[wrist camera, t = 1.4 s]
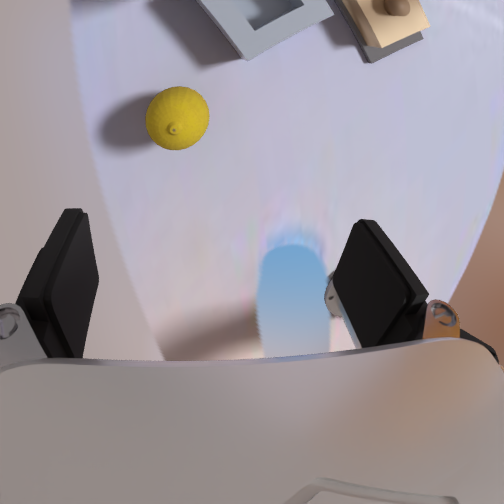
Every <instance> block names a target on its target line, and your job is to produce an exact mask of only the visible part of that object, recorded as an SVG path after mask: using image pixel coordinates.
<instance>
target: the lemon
mask: <svg viewBox="0 0 504 504" xmlns="http://www.w3.org/2000/svg"><path fill="white" fill-rule="evenodd" d="M145 120H146V128H147V131H148V134H149V135H150V137H151V139H152V140H153V141H154V142H155V143H156V144H157V145H159V146H161V147H163V148H165V149H169V150H181V149H186V148H188V147H190V146H192V145H194V144H195V143H196V142H197V141H199V140H200V138H201V137H202V136H203V135H204V133H205V131H206V129H207V127H208V122H209V109H208V106H207V104H206V101H205V100H204V99H203V97H202V96H201V95H200V94H199V93H197V92H196V91H195V90H192V89H190V88H188V87H181V86H179V87H171V88H168V89H165V90H163V91H162V92H160V93H159V94H157V95H156V97H155V98H154V99H153V100H152V101H151V103H150V105H149V106H148V108H147V112H146V117H145Z"/></svg>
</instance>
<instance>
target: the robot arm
mask: <svg viewBox="0 0 504 504" xmlns="http://www.w3.org/2000/svg"><path fill="white" fill-rule="evenodd" d="M98 283H99V275H98V270H97V265H96V260H95V255H94V249H93V243H92V238H91V232H90V225H89V219H88V214H87V213H83V211H82V209H81V208H79V209H78V208H77V209H76V208H73V209H65V210H64V211H63V213H62V215H61V217H60V218H59V220H58V222H57V224H56V226H55V227H54V229H53V231H52V233H51V235H50V237H49V239H48V240H47V242H46V244H45V246H44V247H43V248H42V249H41V250H40V251H39V253H38V255H37V257H36V259H35V261H34V263H33V265H32V268H31V270H30V272H29V274H28V276H27V278H26V280H25V282H24V285H23V287H22V289H21V291H20V294H19V296H18V299H17V301H16V303H15V304H12V303H6V304H2V305H0V504H504V367H503V366H502V365H500V366H499V361H498V357H497V355H496V352H495V350H494V349H493V348H492V347H491V346H489V345H487V344H486V343H484V342H482V341H481V340H479V339H477V338H476V337H474V336H472V335H470V334H469V333H467V332H465V331H464V330H462V329H460V320H459V317H458V314H457V313H456V311H455V310H454V309H453V308H452V307H451V306H450V305H449V304H447V303H446V302H444V301H441V300H436V299H435V300H431V301H430V302H429V303H428V304H427V303H426V301H425V300H426V298H427V297H428V295H429V293H428V292H427V290H426V289H425V287H424V286H423V284H422V283H421V281H420V280H419V279H418V277H417V276H416V274H415V273H414V272H413V270H412V269H411V267H410V266H409V265H408V263H407V262H406V260H405V259H404V258H403V256H402V255H401V254H400V252H399V251H398V250H397V248H396V247H395V246H394V244H393V243H392V242H391V240H390V239H389V238H388V237H387V235H386V234H385V233H384V231H383V230H382V229H381V228H380V226H379V225H378V224H377V222H376V221H374V220H366V219H360V220H359V221H358V222H357V223H355V224H354V225H353V227H352V230H351V233H350V235H349V238H348V240H347V243H346V245H345V248H344V251H343V253H342V256H341V258H340V261H339V263H338V266H337V268H336V270H335V273H334V275H333V279H332V280H331V281H330V283H329V284H328V286H327V288H326V291H325V298H324V299H325V304H326V306H327V308H328V310H329V311H330V312H331V313H332V314H334V315H336V316H339V317H342V318H343V320H344V322H345V324H346V327H347V329H348V331H349V334H350V336H351V338H352V341H353V343H354V345H355V347H356V349H353V350H345V351H337V352H328V353H319V354H310V355H299V356H287V357H275V358H259V359H241V360H215V361H134V360H133V361H132V360H103V359H84V358H83V352H84V346H85V341H86V336H87V331H88V327H89V322H90V317H91V313H92V308H93V304H94V299H95V296H96V292H97V288H98Z"/></svg>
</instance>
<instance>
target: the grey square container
mask: <svg viewBox="0 0 504 504" xmlns="http://www.w3.org/2000/svg"><path fill="white" fill-rule="evenodd" d="M196 1H197V2H198V4H199V5H200V6H201V7H202V8H203V10H204V11H205V12H206V13H207V14H208V16H209V17H210V18H211V19H212V21H213V22H214V23H215V24H216V26H217V27H218V28H219V29H220V31H221V32H222V33H223V34H224V36H225V37H226V38H227V40H228V41H229V42H230V44H231V45H232V46H233V48H234V49H235V50H236V52H237V53H238V54H239V56H240V57H241V58H242V59H244V60H246V61H249V60H251V59H253V58H254V57H256V56H258V55H259V54H261V53H263V52H264V51H266V50H268V49H269V48H271V47H273V46H275V45H276V44H278V43H280V42H282V41H284V40H285V39H287V38H289V37H291V36H293V35H295V34H297V33H298V32H300V31H302V30H304V29H306V28H308V27H310V26H312V25H314V24H316V23H318V22H320V21H322V20H324V19H327V18H329V17H331V16H333V15H335V14H334V13H333V11H332V10H331V8H330V6H329V5H328V3H327V2H326V0H196Z"/></svg>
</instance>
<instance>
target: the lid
mask: <svg viewBox="0 0 504 504" xmlns="http://www.w3.org/2000/svg"><path fill="white" fill-rule="evenodd" d="M342 1H343V3H344V5H345V6H346V8H347V10H348V12H349V13H350V15H351V17H352V18H353V20H354V22H355V24H356V26H357V27H358V29H359V31H360V33H361V35H362V37H363V39H364V40H365V42H366V44H367V46H372V47H378V48H383V47H385V46H387V45H390V44H392V43H394V42H396V41H398V40H400V39H403V38H405V37H407V36H409V35H412V34H414V33H416V32H419V31H421V30H423V29H426V28H428V27H430V25H429V22H428V20H427V18H426V15H425V13H424V11H423V9H422V6H421V4H420V2H419V0H342Z"/></svg>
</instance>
